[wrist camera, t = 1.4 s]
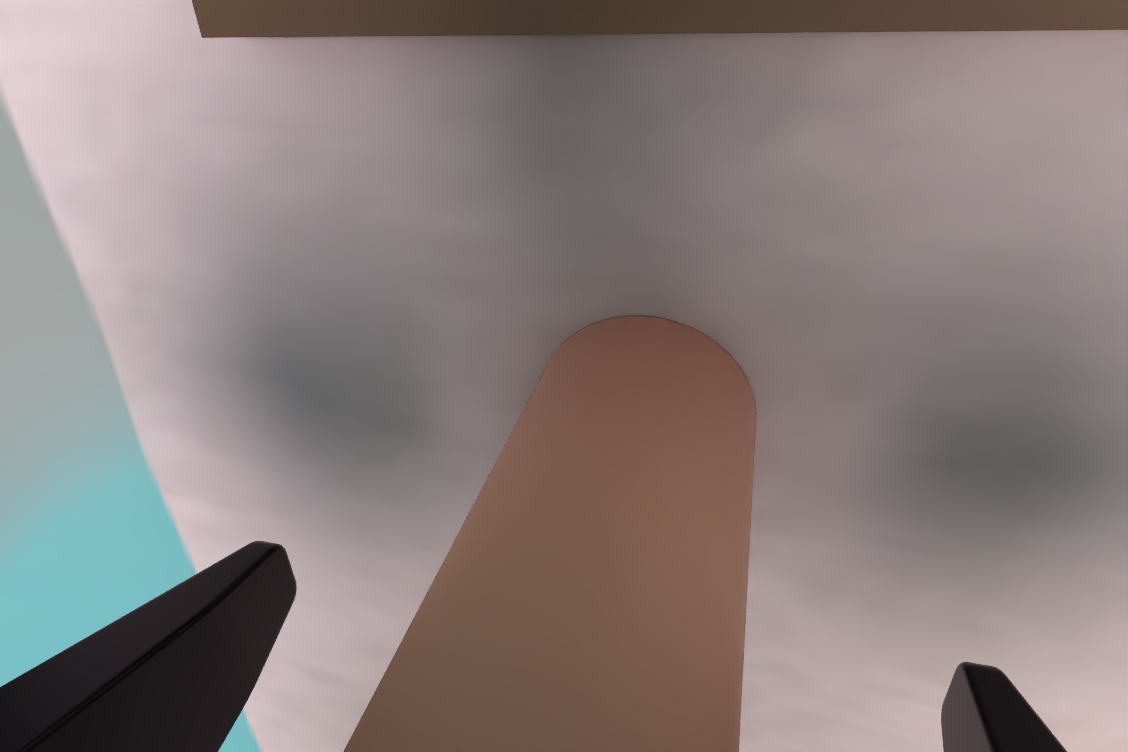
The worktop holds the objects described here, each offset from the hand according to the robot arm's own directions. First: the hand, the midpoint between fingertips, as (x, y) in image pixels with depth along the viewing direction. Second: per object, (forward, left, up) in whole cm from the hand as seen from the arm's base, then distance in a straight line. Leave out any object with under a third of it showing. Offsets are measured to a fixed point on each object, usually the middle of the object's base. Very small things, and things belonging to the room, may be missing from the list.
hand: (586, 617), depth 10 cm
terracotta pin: (0, 0, -5) cm, 5 cm away
